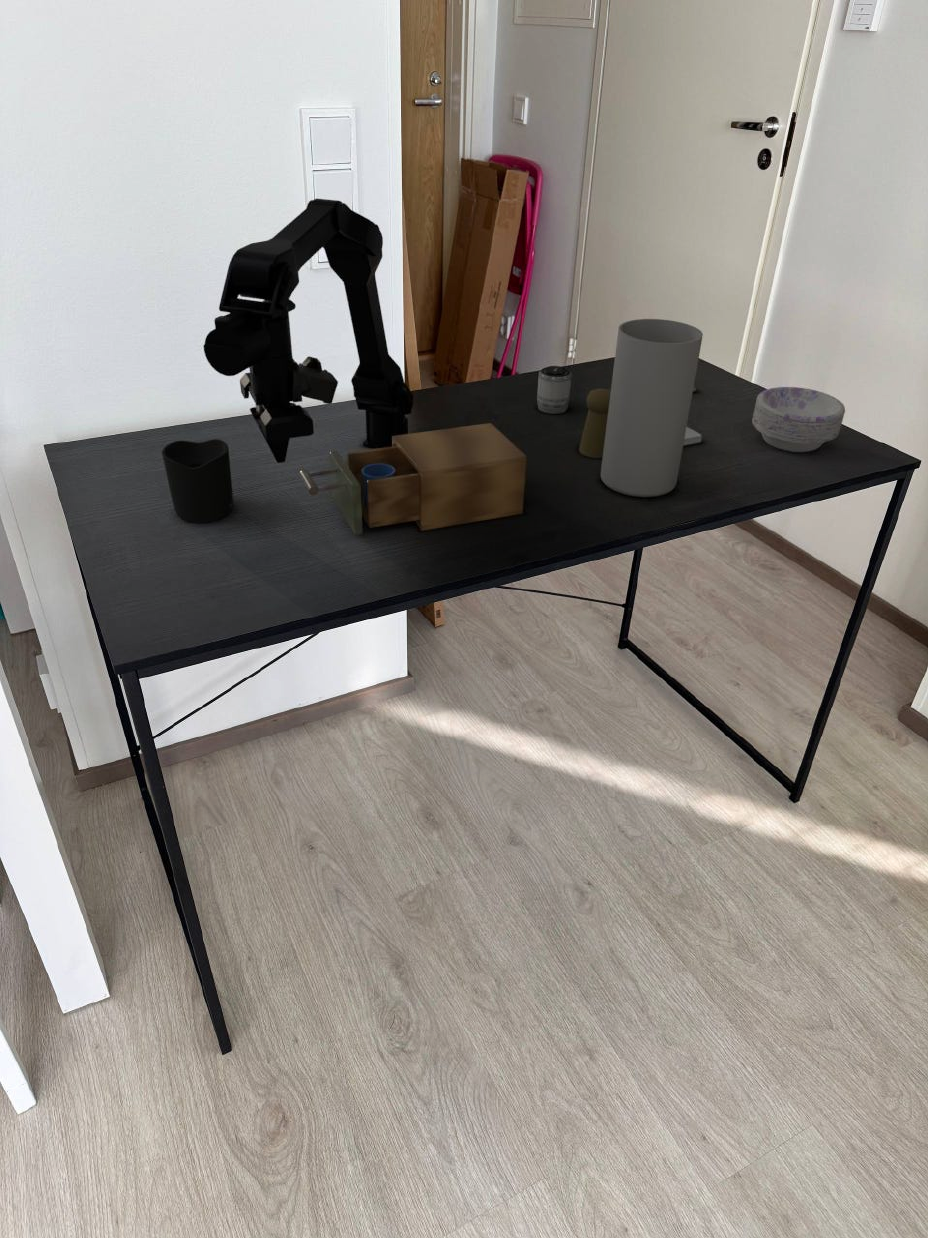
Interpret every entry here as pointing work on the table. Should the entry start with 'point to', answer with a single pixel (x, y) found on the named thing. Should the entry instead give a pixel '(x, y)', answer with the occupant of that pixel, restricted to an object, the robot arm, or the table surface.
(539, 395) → the camera lens
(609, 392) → the cork
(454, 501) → the cabinet
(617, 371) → the cylinder vase
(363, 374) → the robot arm
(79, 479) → the table surface
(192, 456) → the pen holder
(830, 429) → the paper bowls
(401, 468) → the drawer
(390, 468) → the cup
